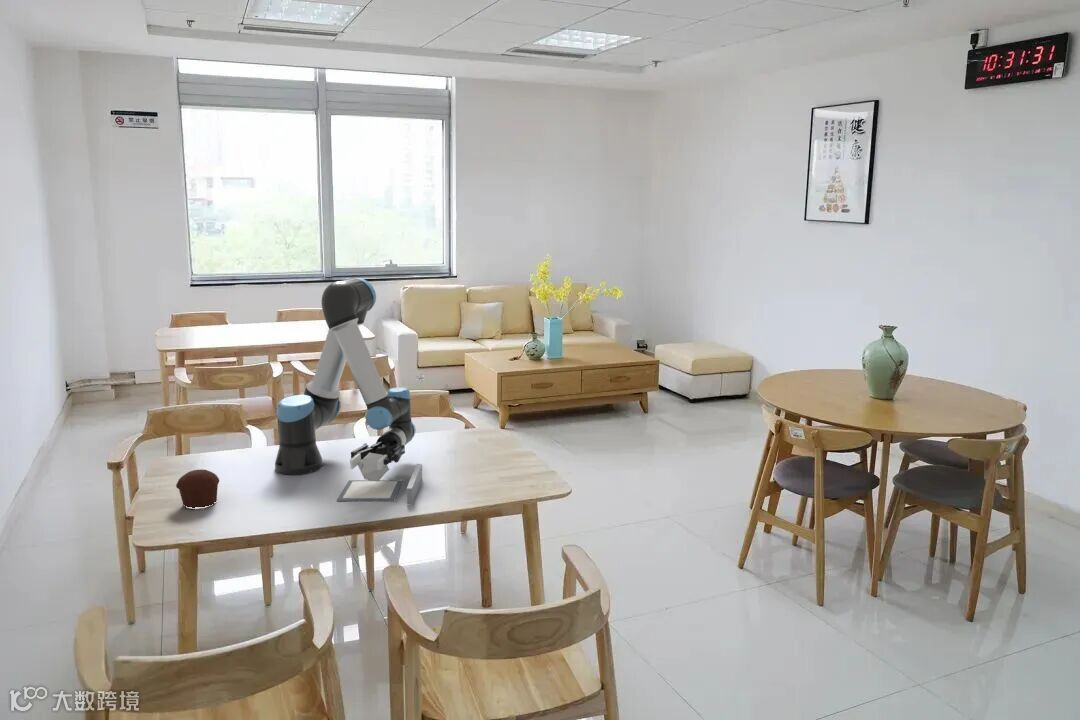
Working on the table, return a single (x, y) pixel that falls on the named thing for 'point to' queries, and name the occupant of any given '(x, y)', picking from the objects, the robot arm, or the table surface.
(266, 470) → the table surface
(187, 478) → the muffin
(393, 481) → the mat
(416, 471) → the low wall
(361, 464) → the die
